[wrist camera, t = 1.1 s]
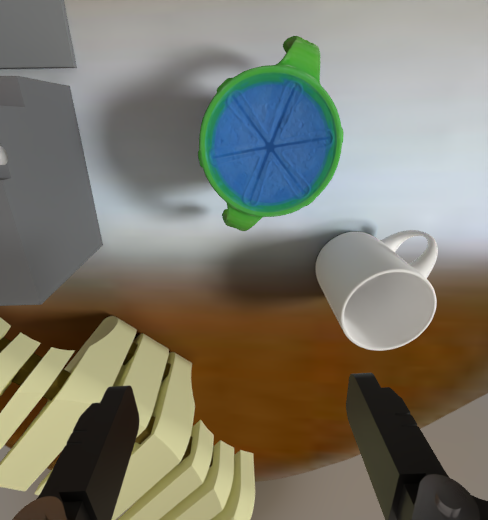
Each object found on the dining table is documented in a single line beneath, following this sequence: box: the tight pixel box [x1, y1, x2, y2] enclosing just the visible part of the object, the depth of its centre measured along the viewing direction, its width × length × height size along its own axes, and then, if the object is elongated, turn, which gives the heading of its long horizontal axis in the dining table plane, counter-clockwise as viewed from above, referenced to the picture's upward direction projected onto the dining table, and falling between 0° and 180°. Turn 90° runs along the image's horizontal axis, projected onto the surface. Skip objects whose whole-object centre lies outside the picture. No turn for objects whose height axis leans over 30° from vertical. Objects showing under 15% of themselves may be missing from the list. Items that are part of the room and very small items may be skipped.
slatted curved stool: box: [0, 316, 255, 520], centre depth 36 cm, size 30×16×18 cm, turn 50°
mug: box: [315, 230, 438, 350], centre depth 33 cm, size 9×12×11 cm
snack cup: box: [198, 36, 343, 231], centre depth 28 cm, size 16×10×10 cm
